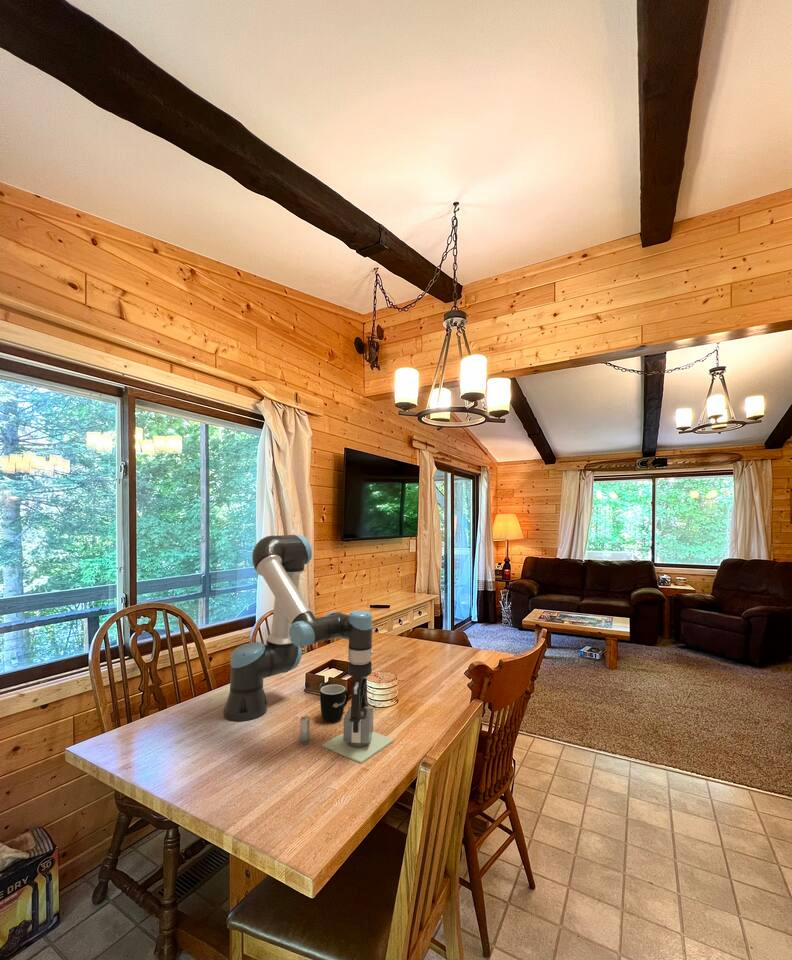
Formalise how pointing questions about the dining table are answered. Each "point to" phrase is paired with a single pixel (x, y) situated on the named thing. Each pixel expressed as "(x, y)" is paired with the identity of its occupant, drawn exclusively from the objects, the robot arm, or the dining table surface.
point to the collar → (365, 725)
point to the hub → (359, 746)
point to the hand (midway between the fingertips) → (358, 735)
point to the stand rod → (305, 730)
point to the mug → (333, 702)
